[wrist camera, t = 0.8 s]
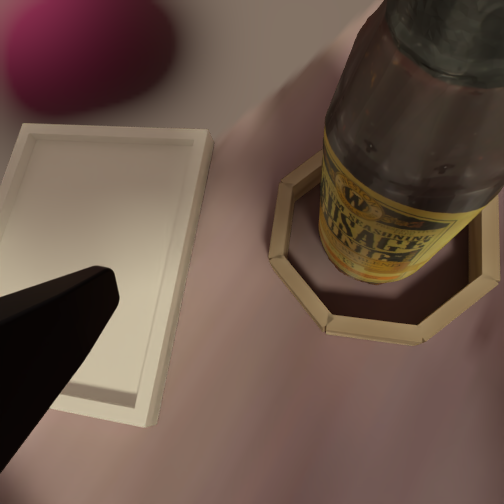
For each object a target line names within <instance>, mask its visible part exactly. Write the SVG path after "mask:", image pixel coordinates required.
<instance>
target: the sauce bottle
mask: <svg viewBox="0 0 504 504" xmlns="http://www.w3.org/2000/svg"><path fill="white" fill-rule="evenodd" d="M321 173H322V178H321V186H320V215H319V233H320V239H321V242H322V244H323V247H324V249H325V251H326V253H327V255H328V257H329V260H330V261H331V262H332V263H333V264H334V265H335V267H336V268H337V269H338V270H339V271H340V272H342V273H343V274H345V275H347V276H349V277H351V278H354V279H355V280H358V281H361V282H366V283H368V284H373V285H379V284H383V283H387V282H394V281H398V280H401V279H404V278H406V277H408V276H410V275H412V274H413V273H415V272H416V271H417V270H419V269H420V268H421V267H422V266H423V265H424V264H425V263H426V262H428V261H429V260H430V259H431V258H432V257H433V256H434V255H435V254H436V253H437V252H438V251H439V250H440V249H442V248H443V247H444V246H445V245H446V244H447V243H448V242H449V241H450V240H451V239H452V238H453V237H454V236H456V235H457V234H458V233H459V232H460V231H461V230H462V229H463V228H464V227H465V226H466V225H467V224H468V223H469V222H470V221H471V220H473V219H474V218H475V217H476V216H477V215H478V214H479V213H480V212H481V211H482V210H483V209H484V208H485V207H486V206H487V205H488V204H489V203H490V202H491V201H492V200H493V199H494V198H495V197H496V196H497V195H498V193H499V192H500V191H501V189H502V188H503V186H504V0H384V1H383V2H382V4H381V5H380V6H379V8H378V9H377V10H376V11H375V12H374V13H373V14H372V15H371V16H370V17H369V18H368V19H367V21H366V23H365V24H364V25H363V26H362V28H361V29H360V31H359V33H358V34H357V37H356V39H355V42H354V45H353V47H352V50H351V52H350V55H349V58H348V60H347V63H346V65H345V68H344V70H343V73H342V75H341V78H340V80H339V83H338V86H337V88H336V91H335V93H334V96H333V98H332V101H331V104H330V106H329V109H328V111H327V114H326V117H325V128H324V138H323V158H322V171H321Z"/></svg>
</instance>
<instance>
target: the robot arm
mask: <svg viewBox="0 0 504 504" xmlns="http://www.w3.org/2000/svg"><path fill="white" fill-rule="evenodd" d="M119 300H120V296H119V291H118V286H117V282H116V277H115V273H114V271H113V270H112V269H110V268H108V267H103V266H98V265H95V266H91V267H88V268H85V269H82V270H79V271H76V272H73V273H70V274H67V275H64V276H61V277H58V278H55V279H52V280H49V281H46V282H44V283H41V284H38V285H35V286H32V287H29V288H26V289H23V290H20V291H17V292H14V293H11V294H8V295H5V296H2V297H0V473H1V472H2V471H3V469H4V468H5V467H6V465H7V464H8V463H9V461H10V460H11V459H12V457H13V456H14V455H15V453H16V452H17V451H18V449H19V448H20V447H21V445H22V444H23V443H24V441H25V440H26V439H27V437H28V436H29V434H30V433H31V432H32V430H33V429H34V428H35V426H36V425H37V424H38V422H39V421H40V420H41V418H42V417H43V416H44V414H45V413H46V412H47V410H48V409H49V408H50V406H51V405H52V404H53V402H54V401H55V400H56V398H57V397H58V396H59V394H60V393H61V392H62V390H63V389H64V388H65V386H66V385H67V384H68V382H69V381H70V380H71V378H72V377H73V376H74V374H75V373H76V372H77V370H78V369H79V367H80V366H81V365H82V363H83V362H84V360H85V359H86V357H87V356H88V354H89V353H90V351H91V350H92V348H93V346H94V345H95V343H96V341H97V340H98V338H99V336H100V335H101V333H102V331H103V330H104V328H105V326H106V325H107V323H108V321H109V320H110V318H111V317H112V315H113V313H114V312H115V310H116V308H117V306H118V304H119Z"/></svg>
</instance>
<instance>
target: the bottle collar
mask: <svg viewBox="0 0 504 504" xmlns="http://www.w3.org/2000/svg"><path fill="white" fill-rule="evenodd" d="M322 158H323V149H321V150H320V151H319V152H317V153H316V154H315V155H313V156H312V157H311V158H309V159H308V160H307V161H305V162H304V163H303V164H301V165H300V166H299V167H297V168H296V169H295V170H293V171H292V172H291V173H289V174H288V175H287V176H285V177H284V178H283V179H281V183H279V188H278V195H277V201H276V208H275V215H274V222H273V228H272V235H271V242H270V249H269V256H268V258H269V262H270V264H271V266H272V268H273V270H274V272H275V273H276V274H277V275H278V277H279V278H280V279H281V280H282V282H283V283H284V284H285V285H286V287H287V288H288V289H289V290H290V292H291V293H292V294H293V295H294V297H295V298H296V299H297V300H298V302H299V303H300V304H301V305H302V307H303V308H304V309H305V311H306V312H307V313H308V314H309V316H310V317H311V318H312V319H313V321H314V322H315V323H316V324H317V326H318V327H319V328H320V329H321V331H322V332H324V331H325V330H326V334H329V335H336V336H343V337H351V338H358V339H365V340H373V341H380V342H388V343H395V344H402V345H410V346H415V345H419V344H421V343H424V342H426V341H427V340H429V339H430V338H431V337H432V336H434V335H435V334H436V333H437V332H439V331H440V330H441V329H442V328H444V327H445V326H446V325H447V324H449V323H450V322H451V321H453V320H454V319H455V318H456V317H458V316H459V315H460V314H461V313H463V312H464V311H465V310H466V309H468V308H469V307H470V306H471V305H473V304H474V303H475V302H476V301H478V300H479V299H480V298H481V297H483V296H484V295H485V294H486V293H488V292H489V291H490V290H492V289H493V288H494V287H495V286H497V285H498V283H497V282H499V281H500V252H499V208H498V195H497V196H496V197H495V198H494V199H493V200H492V201H491V202H490V203H489V204H488V205H487V206H486V207H485V208H484V209H483V210H482V211H481V212H480V213H479V214H478V215H477V216H476V217H475V218H474V219H473V220H471V221H470V222H469V284H468V285H466V286H465V287H464V288H463V289H461V290H460V291H459V292H457V293H456V294H455V295H454V296H452V297H451V298H450V299H449V300H447V301H446V302H445V303H444V304H442V305H441V306H440V307H439V308H437V309H436V310H435V311H433V312H432V313H431V314H430V315H428V316H427V317H426V318H425V319H423V320H422V321H421V322H420V323H418V324H417V325H410V324H402V323H394V322H386V321H378V320H370V319H362V318H354V317H346V316H338V315H332V314H331V313H330V311H329V310H328V309H327V308H326V307H325V305H324V304H323V303H322V302H321V301H320V299H319V298H318V297H317V296H316V294H315V293H314V292H313V291H312V290H311V288H310V287H309V286H308V285H307V283H306V282H305V281H304V280H303V279H302V277H301V276H300V275H299V274H298V273H297V271H296V270H295V269H294V268H293V266H292V265H291V264H290V263H289V262H288V260H287V257H288V249H289V242H290V234H291V227H292V219H293V212H294V204H295V201H296V200H298V199H299V198H300V197H302V196H303V195H304V194H306V193H307V192H308V191H309V190H311V189H312V188H313V187H315V186H316V185H317V184H319V183H320V182H321V178H322V173H321V171H322Z"/></svg>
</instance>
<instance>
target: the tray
mask: <svg viewBox="0 0 504 504" xmlns="http://www.w3.org/2000/svg"><path fill="white" fill-rule="evenodd" d="M213 148H214V141H213V139H212V137H211V135H210V132H209V130H208V129H184V128H183V129H182V128H154V127H152V128H151V127H124V126H93V125H61V124H60V125H59V124H31V123H30V124H29V123H23V124H22V127H21V130H20V132H19V135H18V138H17V141H16V144H15V146H14V149H13V152H12V155H11V157H10V160H9V163H8V165H7V168H6V171H5V173H4V176H3V179H2V182H1V184H0V297H2V296H5V295H8V294H11V293H14V292H17V291H20V290H23V289H26V288H29V287H32V286H35V285H38V284H41V283H44V282H46V281H49V280H52V279H55V278H58V277H61V276H64V275H67V274H70V273H73V272H76V271H79V270H82V269H85V268H88V267H91V266H95V265H98V266H103V267H108V268H110V269H112V270H113V271H114V273H115V277H116V282H117V286H118V291H119V296H120V300H119V304H118V306H117V308H116V310H115V312H114V313H113V315H112V317H111V318H110V320H109V321H108V323H107V325H106V326H105V328H104V330H103V331H102V333H101V335H100V336H99V338H98V340H97V341H96V343H95V345H94V346H93V348H92V350H91V351H90V353H89V354H88V356H87V357H86V359H85V360H84V362H83V363H82V365H81V366H80V367H79V369H78V370H77V372H76V373H75V374H74V376H73V377H72V378H71V380H70V381H69V382H68V384H67V385H66V386H65V388H64V389H63V390H62V392H61V393H60V394H59V396H58V397H57V398H56V400H55V401H54V402H53V404H52V405H51V406H50V409H55V410H60V411H65V412H70V413H75V414H80V415H85V416H90V417H94V418H99V419H104V420H109V421H114V422H119V423H124V424H129V425H134V426H139V427H144V428H145V427H149V426H153V425H157V422H158V417H159V412H160V407H161V402H162V397H163V392H164V387H165V382H166V378H167V373H168V368H169V363H170V358H171V353H172V348H173V343H174V338H175V333H176V329H177V324H178V319H179V314H180V309H181V304H182V299H183V294H184V289H185V285H186V280H187V275H188V270H189V265H190V260H191V255H192V250H193V245H194V241H195V236H196V231H197V226H198V221H199V216H200V211H201V206H202V201H203V197H204V192H205V187H206V182H207V177H208V172H209V167H210V162H211V157H212V152H213Z"/></svg>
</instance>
